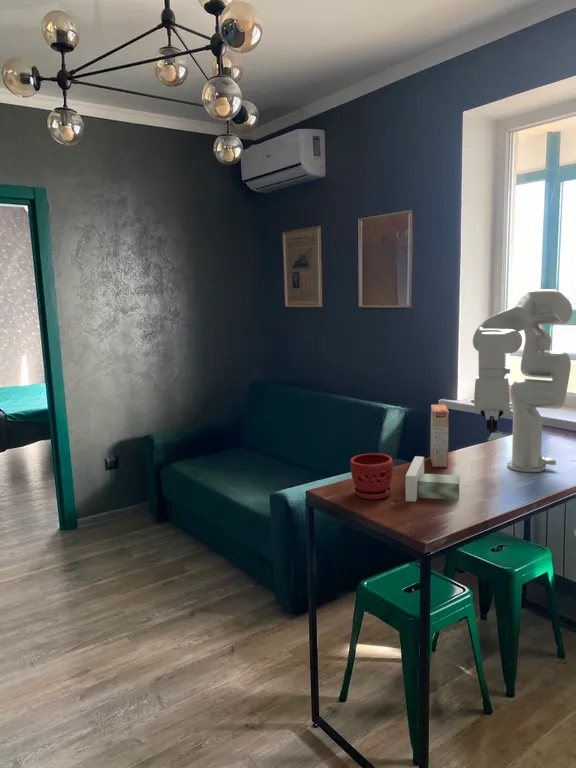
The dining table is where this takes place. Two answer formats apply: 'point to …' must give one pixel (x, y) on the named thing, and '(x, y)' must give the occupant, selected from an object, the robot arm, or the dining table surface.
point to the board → (414, 478)
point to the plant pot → (372, 475)
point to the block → (438, 486)
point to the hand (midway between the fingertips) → (491, 431)
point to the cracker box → (439, 435)
